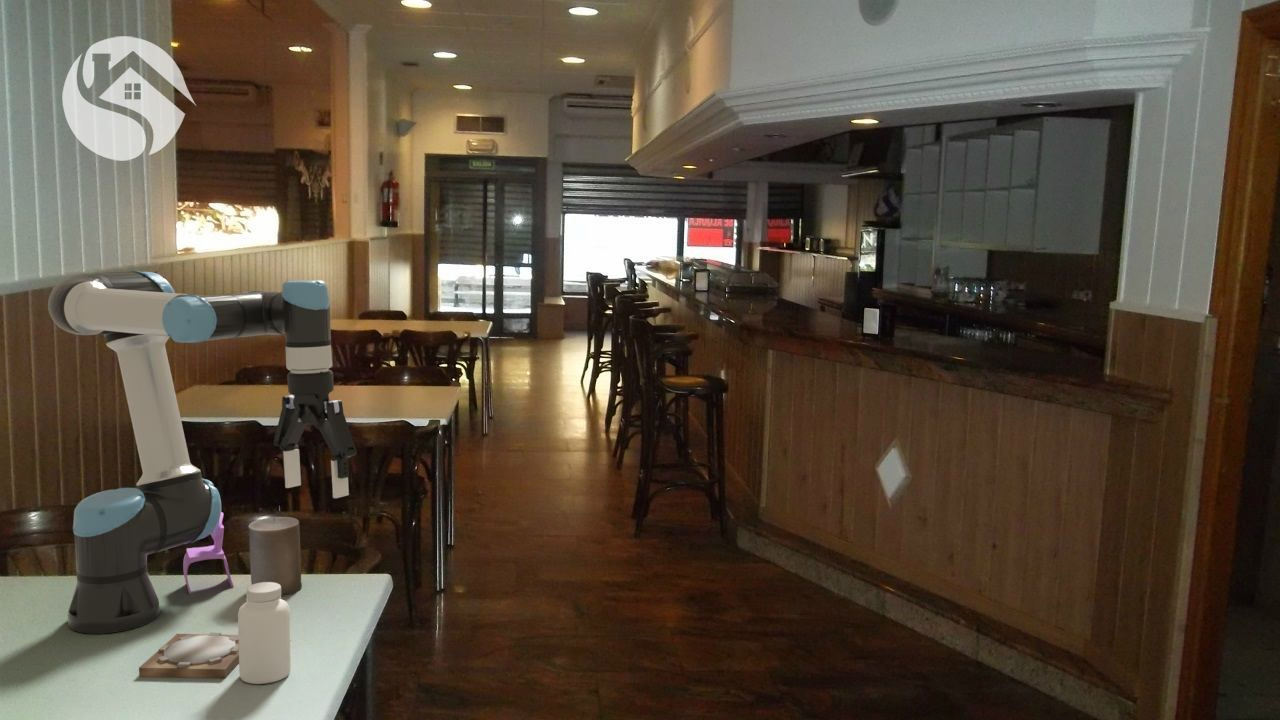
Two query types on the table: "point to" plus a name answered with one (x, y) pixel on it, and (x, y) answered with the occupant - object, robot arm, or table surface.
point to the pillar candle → (276, 552)
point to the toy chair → (207, 552)
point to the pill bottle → (264, 635)
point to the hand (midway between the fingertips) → (316, 491)
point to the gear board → (194, 657)
